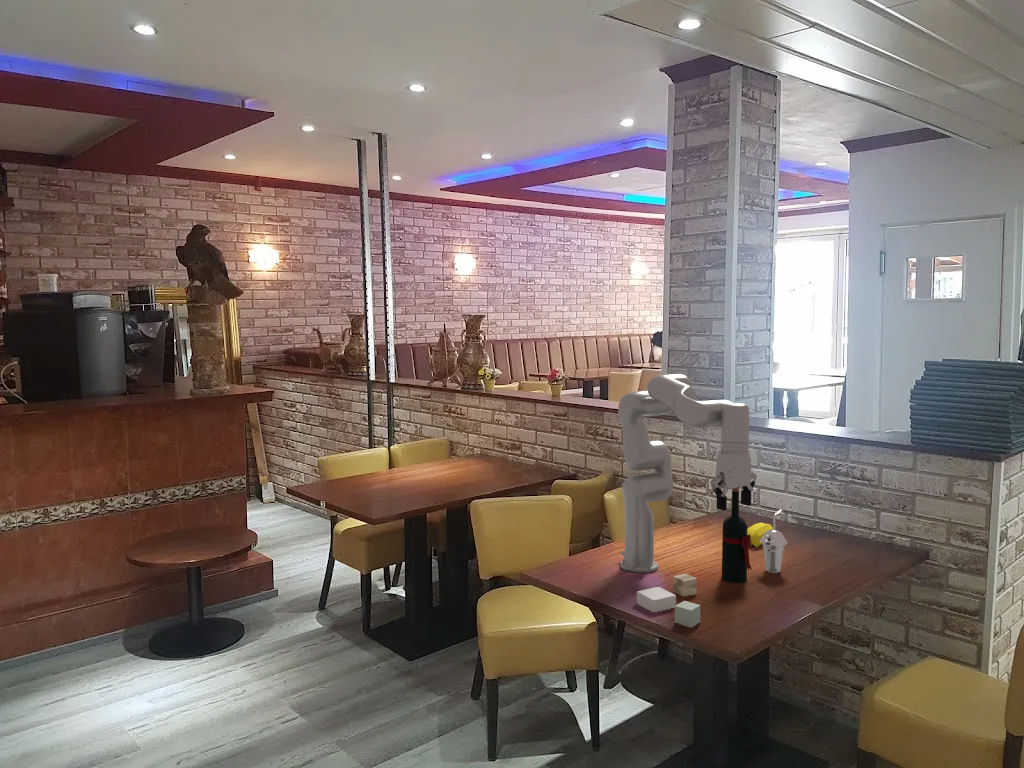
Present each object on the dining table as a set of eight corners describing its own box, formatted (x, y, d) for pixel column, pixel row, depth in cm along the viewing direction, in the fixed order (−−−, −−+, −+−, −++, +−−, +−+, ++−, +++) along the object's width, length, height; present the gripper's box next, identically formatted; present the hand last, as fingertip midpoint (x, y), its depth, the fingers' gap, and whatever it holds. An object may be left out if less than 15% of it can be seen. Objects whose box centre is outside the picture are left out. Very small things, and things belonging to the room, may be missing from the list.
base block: (636, 604, 219) (636, 591, 219) (658, 599, 223) (658, 586, 223) (653, 613, 212) (653, 600, 212) (675, 608, 216) (675, 595, 216)
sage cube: (674, 623, 205) (675, 605, 205) (684, 617, 209) (684, 600, 208) (691, 628, 202) (691, 610, 201) (700, 622, 205) (700, 605, 205)
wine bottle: (742, 587, 232) (743, 492, 229) (716, 578, 240) (717, 486, 238) (758, 582, 236) (759, 489, 234) (732, 573, 245) (733, 483, 242)
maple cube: (673, 592, 229) (673, 576, 228) (686, 589, 231) (686, 573, 231) (683, 597, 224) (684, 581, 224) (696, 594, 226) (696, 578, 226)
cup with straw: (754, 567, 250) (755, 509, 248) (778, 565, 252) (779, 507, 250) (769, 576, 241) (770, 515, 240) (793, 573, 244) (794, 513, 242)
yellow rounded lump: (737, 546, 274) (757, 550, 269) (737, 528, 274) (757, 532, 269) (758, 535, 288) (778, 539, 282) (759, 518, 287) (778, 522, 282)
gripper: (745, 442, 216) (744, 500, 217) (702, 448, 207) (701, 508, 208) (766, 446, 209) (765, 505, 211) (722, 452, 200) (721, 514, 202)
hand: (733, 507), depth 210 cm, fingers open, 9 cm apart
